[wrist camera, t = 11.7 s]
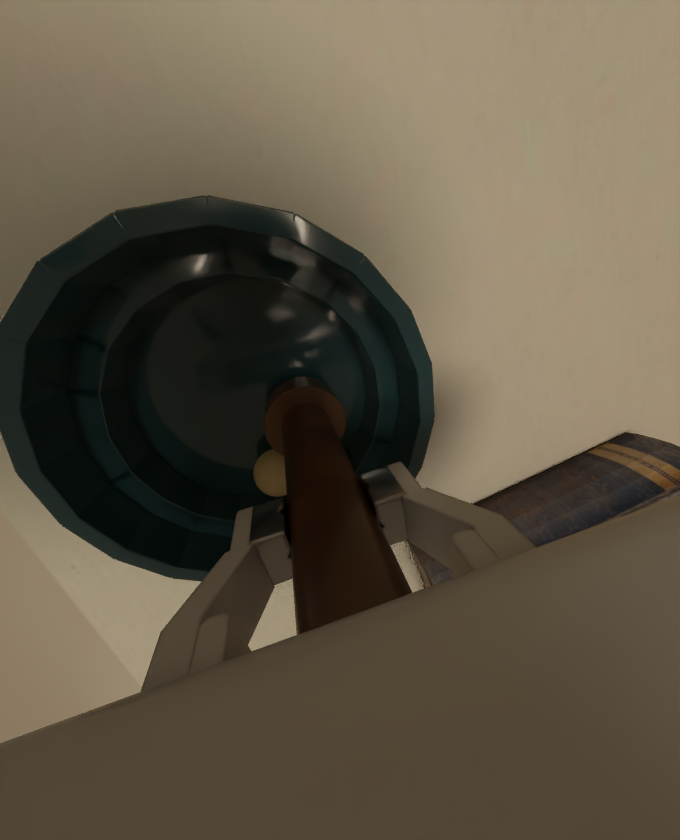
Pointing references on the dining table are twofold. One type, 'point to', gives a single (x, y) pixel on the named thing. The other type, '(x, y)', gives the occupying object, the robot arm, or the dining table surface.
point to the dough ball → (270, 474)
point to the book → (580, 494)
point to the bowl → (196, 371)
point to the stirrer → (327, 510)
